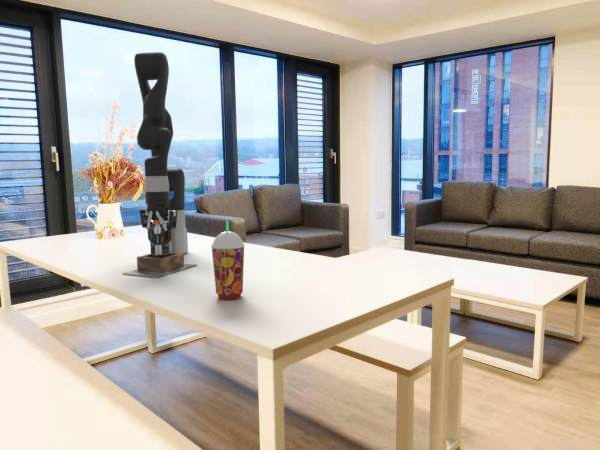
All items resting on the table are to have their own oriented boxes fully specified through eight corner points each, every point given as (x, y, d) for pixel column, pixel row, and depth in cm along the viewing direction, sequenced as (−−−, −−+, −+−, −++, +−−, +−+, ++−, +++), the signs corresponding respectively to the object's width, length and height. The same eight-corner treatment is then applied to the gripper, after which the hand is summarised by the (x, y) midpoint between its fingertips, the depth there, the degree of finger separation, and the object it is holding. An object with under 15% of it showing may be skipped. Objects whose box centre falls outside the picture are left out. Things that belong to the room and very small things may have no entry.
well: (165, 262, 172) (164, 249, 172) (197, 265, 166) (196, 251, 166) (122, 274, 154) (121, 259, 154) (156, 278, 148) (156, 262, 148)
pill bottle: (164, 255, 156) (162, 220, 155) (147, 255, 157) (145, 220, 156) (172, 252, 162) (171, 218, 161) (156, 251, 163) (154, 218, 162)
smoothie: (214, 293, 129) (212, 219, 127) (246, 292, 130) (244, 218, 128) (211, 302, 121) (208, 222, 119) (245, 301, 122) (243, 222, 119)
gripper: (182, 189, 158) (184, 240, 160) (148, 189, 164) (150, 238, 166) (166, 191, 151) (169, 244, 153) (131, 190, 157) (134, 241, 159)
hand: (159, 241), depth 159 cm, fingers closed on pill bottle, 6 cm apart
